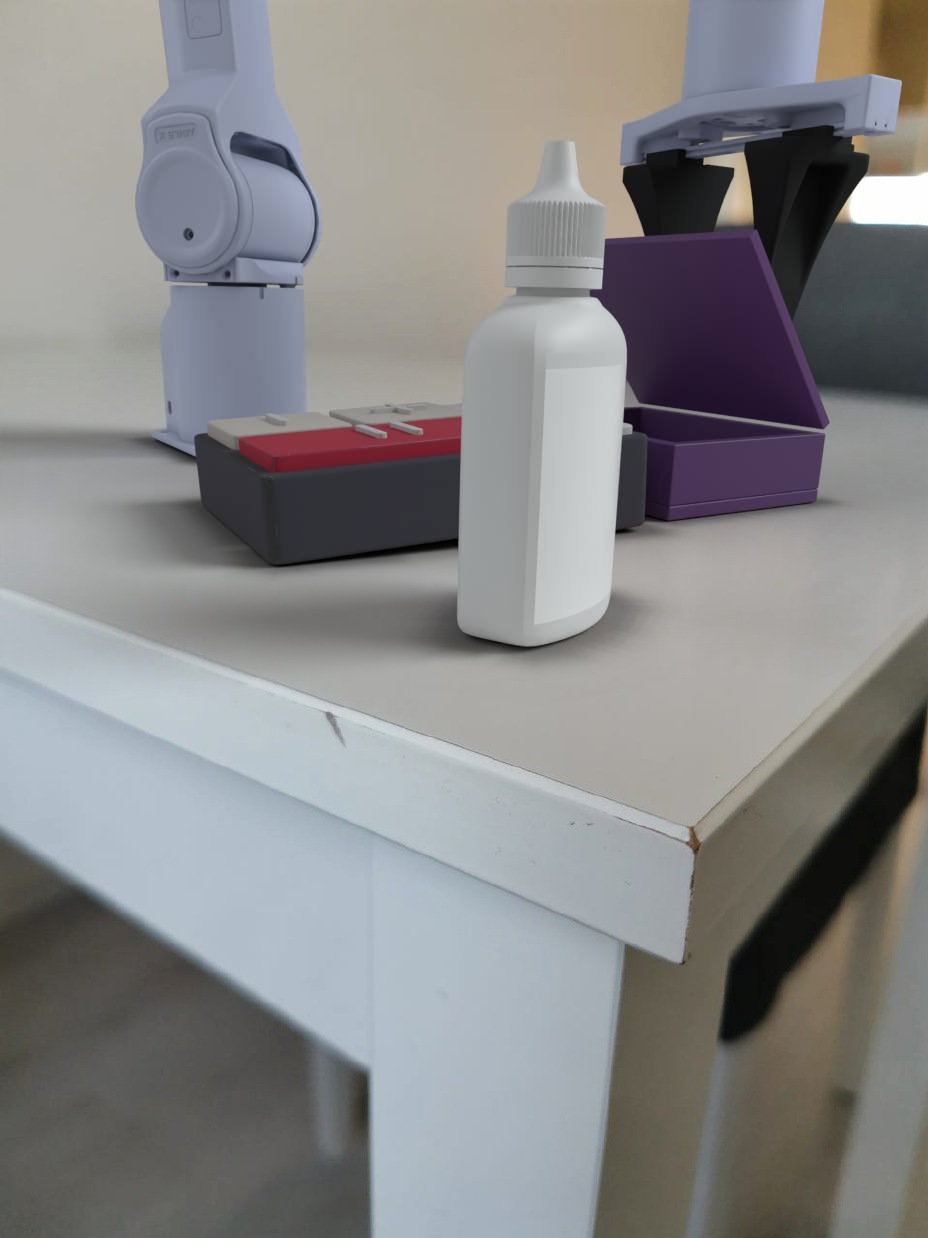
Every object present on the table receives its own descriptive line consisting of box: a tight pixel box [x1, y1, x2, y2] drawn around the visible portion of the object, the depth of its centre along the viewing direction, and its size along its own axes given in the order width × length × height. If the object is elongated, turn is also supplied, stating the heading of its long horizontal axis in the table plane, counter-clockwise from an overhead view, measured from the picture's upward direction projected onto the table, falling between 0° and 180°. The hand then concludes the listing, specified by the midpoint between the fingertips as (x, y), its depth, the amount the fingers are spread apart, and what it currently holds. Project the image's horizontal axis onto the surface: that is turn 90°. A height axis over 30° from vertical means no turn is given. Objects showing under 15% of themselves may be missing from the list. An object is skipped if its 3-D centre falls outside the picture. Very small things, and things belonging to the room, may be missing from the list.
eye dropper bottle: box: [456, 139, 627, 647], centre depth 25 cm, size 4×6×12 cm
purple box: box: [623, 406, 826, 521], centre depth 46 cm, size 9×12×3 cm
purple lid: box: [590, 229, 830, 430], centre depth 46 cm, size 10×12×4 cm
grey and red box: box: [194, 401, 647, 566], centre depth 39 cm, size 11×4×15 cm
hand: (723, 319), depth 46 cm, fingers closed on purple lid, 5 cm apart
